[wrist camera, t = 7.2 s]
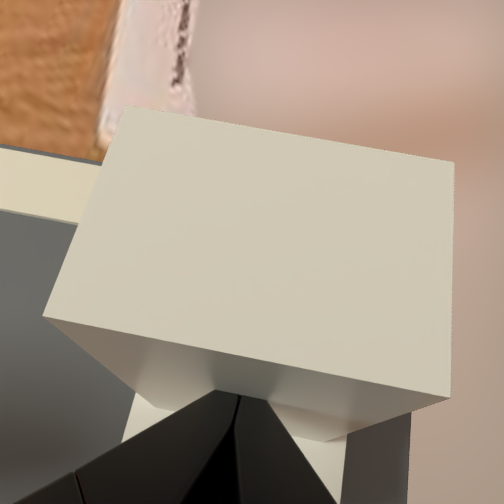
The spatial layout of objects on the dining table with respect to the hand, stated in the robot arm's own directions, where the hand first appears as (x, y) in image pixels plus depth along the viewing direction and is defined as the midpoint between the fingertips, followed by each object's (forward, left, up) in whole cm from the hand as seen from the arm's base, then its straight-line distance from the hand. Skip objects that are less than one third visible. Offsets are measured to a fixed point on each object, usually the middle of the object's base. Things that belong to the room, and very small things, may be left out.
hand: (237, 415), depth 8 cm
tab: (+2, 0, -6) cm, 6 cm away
